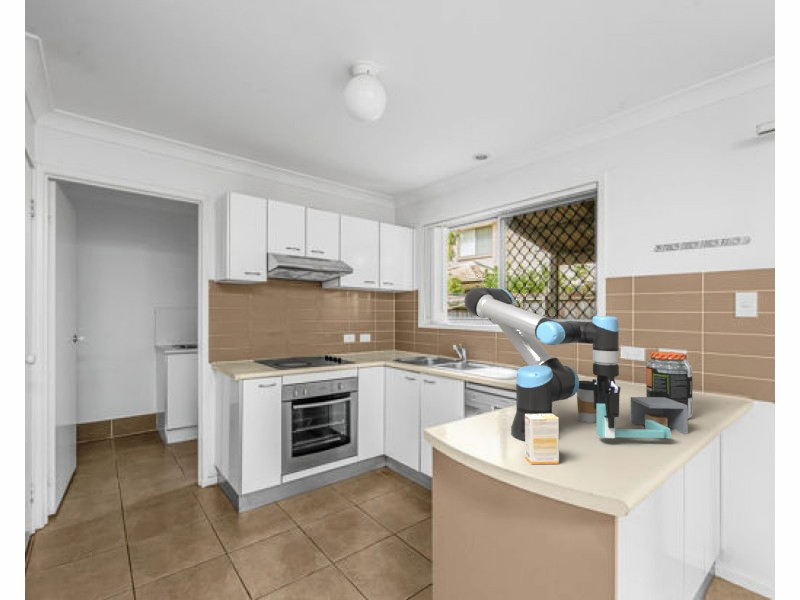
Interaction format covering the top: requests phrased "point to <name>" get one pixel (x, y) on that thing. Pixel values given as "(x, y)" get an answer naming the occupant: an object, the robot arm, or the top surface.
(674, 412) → the block
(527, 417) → the supplement box
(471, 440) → the top surface
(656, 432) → the teal cube-topped l-bracket
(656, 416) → the block
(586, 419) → the coffee cup
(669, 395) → the supplement tub
